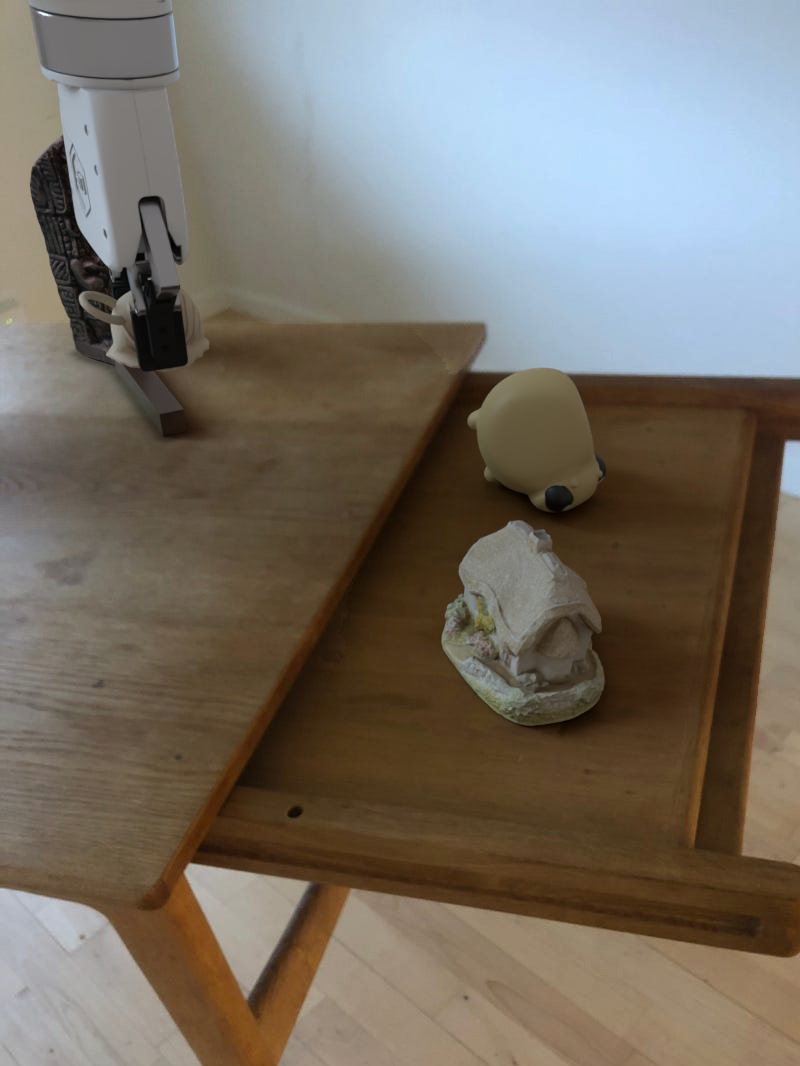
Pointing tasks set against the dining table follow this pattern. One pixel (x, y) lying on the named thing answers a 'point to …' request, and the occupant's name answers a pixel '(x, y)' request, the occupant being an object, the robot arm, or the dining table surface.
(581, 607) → the ceramic model
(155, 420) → the walnut stick
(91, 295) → the decorative ornament
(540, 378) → the toy pig
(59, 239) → the statue
